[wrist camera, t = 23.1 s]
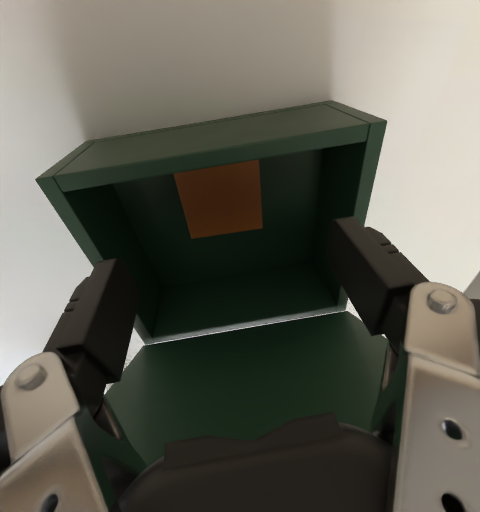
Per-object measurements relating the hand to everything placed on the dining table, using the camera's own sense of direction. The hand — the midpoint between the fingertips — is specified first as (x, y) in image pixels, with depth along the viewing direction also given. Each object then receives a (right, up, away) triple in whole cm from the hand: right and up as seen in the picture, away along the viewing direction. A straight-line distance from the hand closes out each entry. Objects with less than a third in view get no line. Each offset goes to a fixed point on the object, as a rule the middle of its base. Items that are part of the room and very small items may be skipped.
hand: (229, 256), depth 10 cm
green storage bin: (-1, +3, +10) cm, 11 cm away
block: (-1, +6, +7) cm, 10 cm away
